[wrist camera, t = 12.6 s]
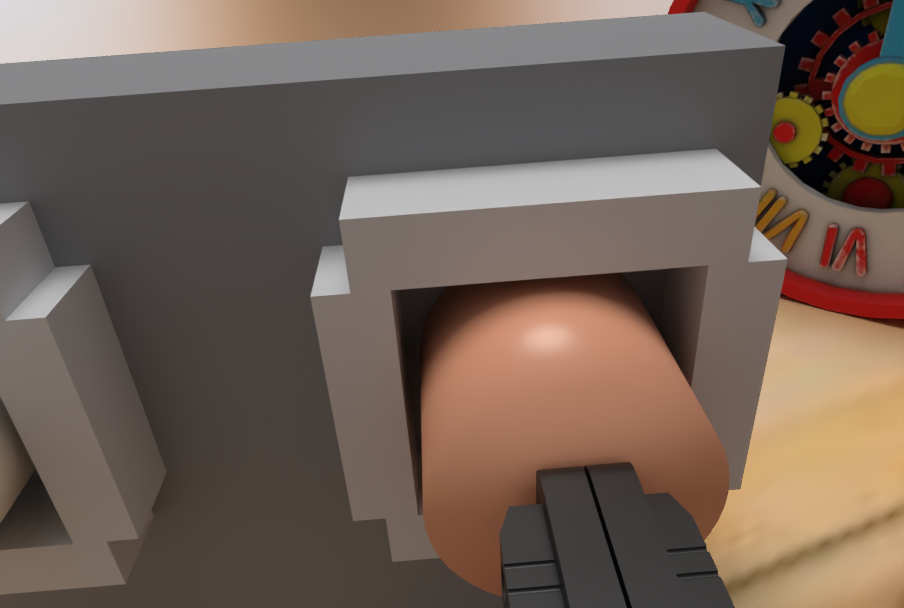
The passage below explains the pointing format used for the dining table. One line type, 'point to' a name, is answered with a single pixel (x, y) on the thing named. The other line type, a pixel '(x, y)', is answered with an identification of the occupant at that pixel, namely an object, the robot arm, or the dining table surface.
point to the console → (340, 283)
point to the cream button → (11, 462)
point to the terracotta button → (550, 408)
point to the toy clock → (833, 148)
